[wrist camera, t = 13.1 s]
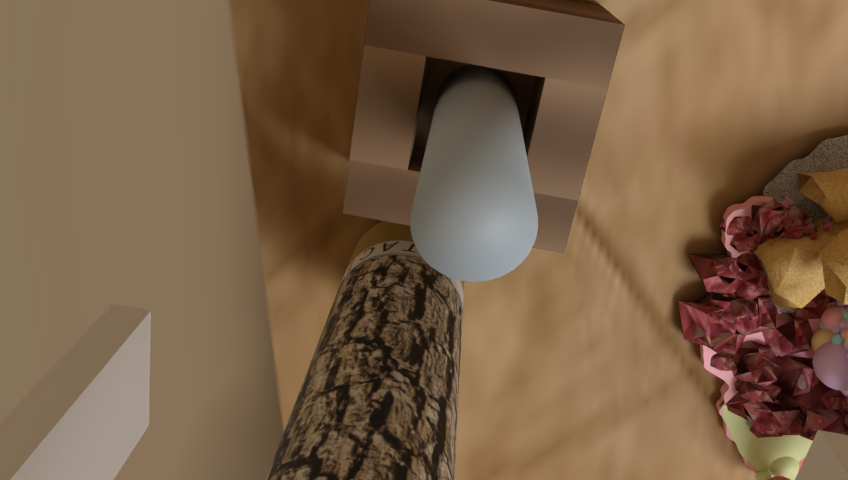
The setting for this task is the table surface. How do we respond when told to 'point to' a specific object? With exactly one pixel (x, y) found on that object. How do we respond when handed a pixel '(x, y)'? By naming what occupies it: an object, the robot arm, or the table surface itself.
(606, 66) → the hollow walnut box
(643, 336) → the table surface
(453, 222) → the dowel
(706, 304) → the candy landscape model
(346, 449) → the bark covered log
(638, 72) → the table surface
